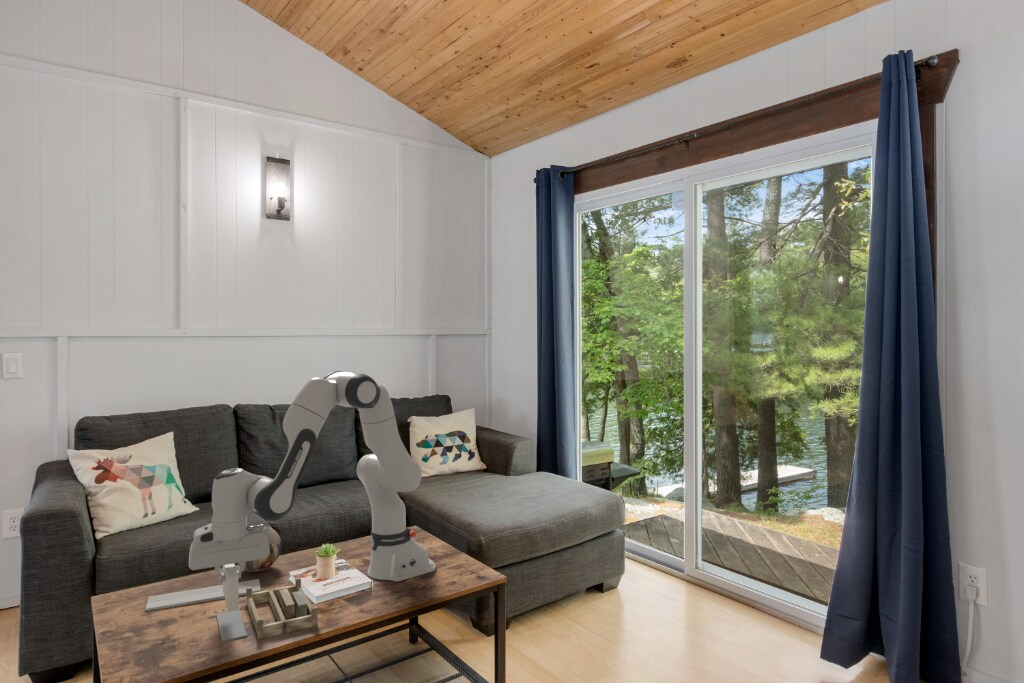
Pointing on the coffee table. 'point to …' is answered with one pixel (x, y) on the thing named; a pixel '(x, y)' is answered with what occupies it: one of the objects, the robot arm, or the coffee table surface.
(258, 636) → the rack
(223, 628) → the mat
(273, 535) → the ornament
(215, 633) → the coffee table surface
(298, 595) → the offcuts
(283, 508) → the robot arm
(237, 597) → the cream rectangular board
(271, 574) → the coffee table surface
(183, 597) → the baseboard molding
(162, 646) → the coffee table surface
